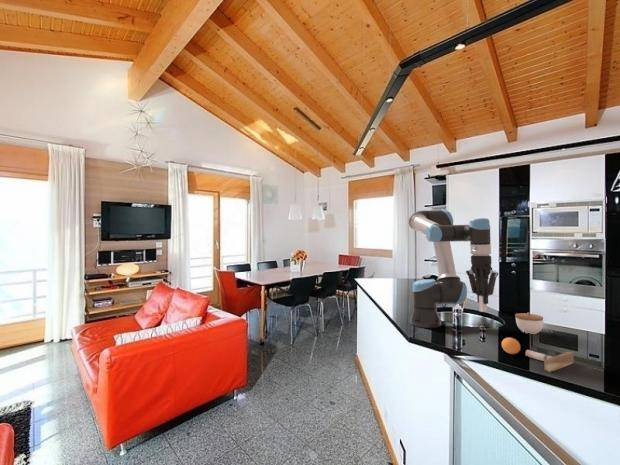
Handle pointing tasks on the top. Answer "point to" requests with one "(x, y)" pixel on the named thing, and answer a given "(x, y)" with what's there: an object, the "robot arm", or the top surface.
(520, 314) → the lidded jar
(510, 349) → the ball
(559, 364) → the wall
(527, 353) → the pin
